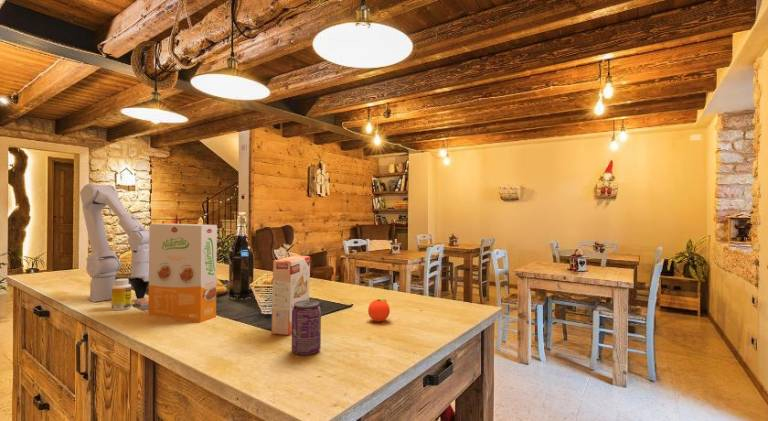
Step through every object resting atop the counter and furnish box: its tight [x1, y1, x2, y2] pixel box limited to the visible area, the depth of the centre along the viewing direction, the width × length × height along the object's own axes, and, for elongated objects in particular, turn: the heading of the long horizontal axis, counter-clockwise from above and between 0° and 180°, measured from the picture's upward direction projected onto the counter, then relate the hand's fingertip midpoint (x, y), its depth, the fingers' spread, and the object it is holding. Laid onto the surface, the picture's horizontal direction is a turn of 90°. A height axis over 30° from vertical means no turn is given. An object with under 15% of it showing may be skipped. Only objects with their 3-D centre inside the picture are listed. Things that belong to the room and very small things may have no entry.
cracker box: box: [271, 255, 311, 336], centre depth 112 cm, size 14×6×21 cm, turn 168°
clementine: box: [367, 298, 391, 323], centre depth 120 cm, size 8×7×7 cm
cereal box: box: [148, 223, 218, 323], centre depth 123 cm, size 22×6×30 cm, turn 69°
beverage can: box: [291, 299, 322, 356], centre depth 94 cm, size 7×7×12 cm
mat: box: [131, 303, 149, 311], centre depth 136 cm, size 11×9×1 cm
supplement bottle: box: [111, 278, 132, 311], centre depth 131 cm, size 6×6×10 cm
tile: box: [134, 296, 149, 307], centre depth 137 cm, size 2×6×6 cm
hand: (140, 298), depth 142 cm, fingers closed
